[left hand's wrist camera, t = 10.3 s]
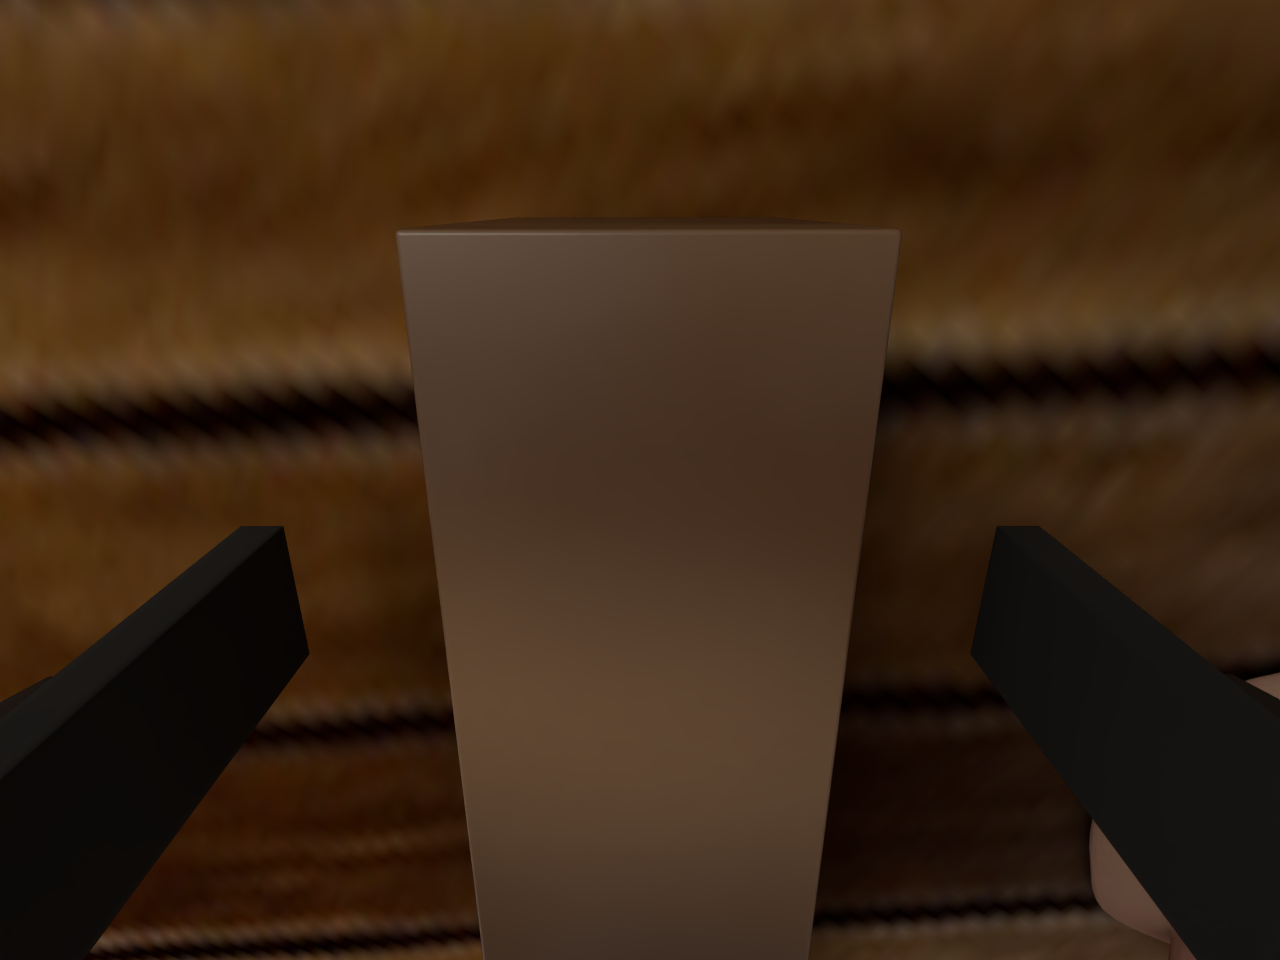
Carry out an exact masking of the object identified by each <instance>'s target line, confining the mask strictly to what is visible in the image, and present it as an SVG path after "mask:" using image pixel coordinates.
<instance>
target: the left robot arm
mask: <svg viewBox="0 0 1280 960" xmlns="http://www.w3.org/2000/svg"><path fill="white" fill-rule="evenodd" d="M308 655H309V649H308V644H307V639H306V634H305V630H304V625H303V620H302V615H301V610H300V605H299V600H298V596H297V591H296V586H295V581H294V576H293V571H292V566H291V562H290V557H289V552H288V547H287V542H286V537H285V532H284V528H283V526H241V527H239V528H238V529H237V530H236V531H234V532H233V533H232V534H231V535H229V536H228V537H227V538H226V539H224V540H223V541H222V542H221V543H219V544H218V545H217V546H216V547H214V548H213V549H212V550H211V551H209V552H208V553H207V554H206V555H204V556H203V557H202V558H201V559H199V560H198V561H197V562H196V563H194V564H193V565H192V566H191V567H189V568H188V569H187V570H186V571H184V572H183V573H182V574H181V575H180V576H178V577H177V578H176V579H175V580H173V581H172V582H171V583H170V584H168V585H167V586H166V587H165V588H163V589H162V590H161V591H160V592H158V593H157V594H156V595H155V596H153V597H152V598H151V599H150V600H148V601H147V602H146V603H145V604H143V605H142V606H141V607H140V608H138V609H137V610H136V611H135V612H133V613H132V614H131V615H130V616H128V617H127V618H126V619H125V620H123V621H122V622H121V623H120V624H118V625H117V626H116V627H115V628H113V629H112V630H111V631H110V632H108V633H107V634H106V635H105V636H103V637H102V638H101V639H100V640H98V641H97V642H96V643H95V644H93V645H92V646H91V647H90V648H88V649H87V650H86V651H85V652H83V653H82V654H81V655H80V656H78V657H77V658H76V659H75V660H73V661H72V662H71V663H70V664H68V665H67V666H66V667H65V668H63V669H62V670H61V671H60V672H58V673H57V674H56V675H55V676H54V677H47V678H45V679H44V680H42V681H40V682H38V683H36V684H34V685H32V686H30V687H28V688H26V689H25V690H23V691H21V692H19V693H17V694H15V695H13V696H11V697H9V698H8V699H6V700H4V701H2V702H1V703H0V960H84V959H85V957H86V956H87V954H88V953H89V952H90V950H91V949H92V948H93V946H94V945H95V944H96V942H97V941H98V940H99V938H100V937H101V935H102V934H103V933H104V931H105V930H106V929H107V927H108V926H109V925H110V923H111V922H112V921H113V919H114V918H115V917H116V915H117V914H118V912H119V911H120V910H121V908H122V907H123V906H124V904H125V903H126V902H127V900H128V899H129V898H130V896H131V895H132V894H133V892H134V891H135V889H136V888H137V887H138V885H139V884H140V883H141V881H142V880H143V879H144V877H145V876H146V875H147V873H148V872H149V870H150V869H151V868H152V866H153V865H154V864H155V862H156V861H157V860H158V858H159V857H160V856H161V854H162V853H163V852H164V850H165V849H166V847H167V846H168V845H169V843H170V842H171V841H172V839H173V838H174V837H175V835H176V834H177V833H178V831H179V830H180V829H181V827H182V826H183V824H184V823H185V822H186V820H187V819H188V818H189V816H190V815H191V814H192V812H193V811H194V810H195V808H196V807H197V806H198V804H199V803H200V801H201V800H202V799H203V797H204V796H205V795H206V793H207V792H208V791H209V789H210V788H211V787H212V785H213V784H214V782H215V781H216V780H217V778H218V777H219V776H220V774H221V773H222V772H223V770H224V769H225V768H226V766H227V765H228V764H229V762H230V761H231V759H232V758H233V757H234V755H235V754H236V753H237V751H238V750H239V749H240V747H241V746H242V745H243V743H244V742H245V741H246V739H247V738H248V736H249V735H250V734H251V732H252V731H253V730H254V728H255V727H256V726H257V724H258V723H259V722H260V720H261V719H262V717H263V716H264V715H265V713H266V712H267V711H268V709H269V708H270V707H271V705H272V704H273V703H274V701H275V700H276V699H277V697H278V696H279V694H280V693H281V692H282V690H283V689H284V688H285V686H286V685H287V684H288V682H289V681H290V680H291V678H292V677H293V676H294V674H295V673H296V671H297V670H298V669H299V667H300V666H301V665H302V663H303V662H304V661H305V659H306V658H307V657H308ZM971 655H972V657H973V658H974V659H975V661H976V662H977V663H978V665H979V666H980V667H981V669H982V670H983V671H984V673H985V674H986V676H987V677H988V678H989V680H990V681H991V682H992V684H993V685H994V686H995V688H996V689H997V690H998V692H999V693H1000V694H1001V696H1002V697H1003V699H1004V700H1005V701H1006V703H1007V704H1008V705H1009V707H1010V708H1011V709H1012V711H1013V712H1014V713H1015V715H1016V716H1017V717H1018V719H1019V720H1020V722H1021V723H1022V724H1023V726H1024V727H1025V728H1026V730H1027V731H1028V732H1029V734H1030V735H1031V736H1032V738H1033V739H1034V741H1035V742H1036V743H1037V745H1038V746H1039V747H1040V749H1041V750H1042V751H1043V753H1044V754H1045V755H1046V757H1047V758H1048V759H1049V761H1050V762H1051V764H1052V765H1053V766H1054V768H1055V769H1056V770H1057V772H1058V773H1059V774H1060V776H1061V777H1062V778H1063V780H1064V781H1065V782H1066V784H1067V785H1068V787H1069V788H1070V789H1071V791H1072V792H1073V793H1074V795H1075V796H1076V797H1077V799H1078V800H1079V801H1080V803H1081V804H1082V805H1083V807H1084V808H1085V810H1086V811H1087V812H1088V814H1089V815H1090V816H1091V818H1092V819H1093V820H1094V822H1095V823H1096V824H1097V826H1098V827H1099V829H1100V830H1101V831H1102V833H1103V834H1104V835H1105V837H1106V838H1107V839H1108V841H1109V842H1110V843H1111V845H1112V846H1113V847H1114V849H1115V850H1116V852H1117V853H1118V854H1119V856H1120V857H1121V858H1122V860H1123V861H1124V862H1125V864H1126V865H1127V866H1128V868H1129V869H1130V870H1131V872H1132V873H1133V875H1134V876H1135V877H1136V879H1137V880H1138V881H1139V883H1140V884H1141V885H1142V887H1143V888H1144V889H1145V891H1146V892H1147V893H1148V895H1149V896H1150V898H1151V899H1152V900H1153V902H1154V903H1155V904H1156V906H1157V907H1158V908H1159V910H1160V911H1161V912H1162V914H1163V915H1164V917H1165V918H1166V919H1167V921H1168V922H1169V923H1170V925H1171V926H1172V927H1173V929H1174V930H1175V931H1176V933H1177V934H1178V935H1179V937H1180V938H1181V940H1182V941H1183V942H1184V944H1185V945H1186V946H1187V948H1188V949H1189V950H1190V952H1191V953H1192V954H1193V956H1194V957H1195V958H1196V960H1280V700H1279V699H1278V698H1276V697H1274V696H1273V695H1271V694H1269V693H1267V692H1265V691H1263V690H1261V689H1259V688H1257V687H1255V686H1254V685H1252V684H1250V683H1248V682H1246V681H1244V680H1242V679H1240V678H1238V677H1236V676H1234V675H1233V674H1223V673H1222V672H1220V671H1219V670H1218V669H1217V668H1215V667H1214V666H1213V665H1212V664H1210V663H1209V662H1208V661H1207V660H1205V659H1204V658H1203V657H1202V656H1200V655H1199V654H1198V653H1197V652H1195V651H1194V650H1193V649H1192V648H1190V647H1189V646H1188V645H1187V644H1185V643H1184V642H1183V641H1182V640H1180V639H1179V638H1178V637H1177V636H1175V635H1174V634H1173V633H1172V632H1170V631H1169V630H1168V629H1167V628H1165V627H1164V626H1163V625H1162V624H1160V623H1159V622H1158V621H1157V620H1155V619H1154V618H1153V617H1152V616H1150V615H1149V614H1148V613H1147V612H1145V611H1144V610H1143V609H1142V608H1140V607H1139V606H1138V605H1137V604H1135V603H1134V602H1133V601H1132V600H1130V599H1129V598H1128V597H1127V596H1125V595H1124V594H1123V593H1122V592H1120V591H1119V590H1118V589H1117V588H1115V587H1114V586H1113V585H1112V584H1110V583H1109V582H1108V581H1107V580H1106V579H1104V578H1103V577H1102V576H1101V575H1099V574H1098V573H1097V572H1096V571H1094V570H1093V569H1092V568H1091V567H1089V566H1088V565H1087V564H1086V563H1084V562H1083V561H1082V560H1081V559H1079V558H1078V557H1077V556H1076V555H1074V554H1073V553H1072V552H1071V551H1069V550H1068V549H1067V548H1066V547H1064V546H1063V545H1062V544H1061V543H1059V542H1058V541H1057V540H1056V539H1054V538H1053V537H1052V536H1051V535H1049V534H1048V533H1047V532H1046V531H1044V530H1043V529H1042V528H1041V527H1039V526H997V528H996V532H995V537H994V542H993V547H992V552H991V557H990V562H989V566H988V571H987V576H986V581H985V586H984V591H983V596H982V600H981V605H980V610H979V615H978V620H977V625H976V630H975V634H974V639H973V644H972V649H971Z"/></svg>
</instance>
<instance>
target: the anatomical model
mask: <svg viewBox="0 0 1280 960" xmlns="http://www.w3.org/2000/svg"><path fill="white" fill-rule="evenodd" d="M1245 681H1246V682H1248V683H1250V684H1252V685H1254V686H1255V687H1257V688H1259V689H1261V690H1263V691H1265V692H1267V693H1269V694H1271V695H1273V696H1274V697H1276V698H1278V699H1279V700H1280V673H1275V674H1271V675H1266V676H1261V677H1257V678H1253V679H1249V680H1245ZM1089 853H1090V870H1091V884H1092V889H1093V892H1094V895H1095V898H1096V900H1097V902H1098V904H1099V905H1100V906H1101V908H1102V909H1103V910H1104V911H1105V912H1106V913H1108V914H1109V915H1110V916H1111V917H1112V918H1114V919H1115V920H1117V921H1119V922H1120V923H1122V924H1124V925H1126V926H1128V927H1130V928H1132V929H1134V930H1137V931H1139V932H1141V933H1143V934H1146V935H1148V936H1151V937H1153V938H1156V939H1158V940H1161V941H1163V942H1166V943H1168V944H1170V951H1169V960H1196V958H1195V957H1194V956H1193V954H1192V953H1191V952H1190V950H1189V949H1188V948H1187V946H1186V945H1185V944H1184V942H1183V941H1182V940H1181V938H1180V937H1179V935H1178V934H1177V933H1176V931H1175V930H1174V929H1173V927H1172V926H1171V925H1170V923H1169V922H1168V921H1167V919H1166V918H1165V917H1164V915H1163V914H1162V912H1161V911H1160V910H1159V908H1158V907H1157V906H1156V904H1155V903H1154V902H1153V900H1152V899H1151V898H1150V896H1149V895H1148V893H1147V892H1146V891H1145V889H1144V888H1143V887H1142V885H1141V884H1140V883H1139V881H1138V880H1137V879H1136V877H1135V876H1134V875H1133V873H1132V872H1131V870H1130V869H1129V868H1128V866H1127V865H1126V864H1125V862H1124V861H1123V860H1122V858H1121V857H1120V856H1119V854H1118V853H1117V852H1116V850H1115V849H1114V847H1113V846H1112V845H1111V843H1110V842H1109V841H1108V839H1107V838H1106V837H1105V835H1104V834H1103V833H1102V831H1101V830H1100V829H1099V827H1098V826H1097V824H1096V823H1095V822H1094V820H1093V819H1092V824H1091V830H1090V840H1089Z"/></svg>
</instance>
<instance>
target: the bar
mask: <svg viewBox="0 0 1280 960" xmlns="http://www.w3.org/2000/svg"><path fill="white" fill-rule="evenodd" d="M901 236H902V234H901V230H899V229H897V228H888V227H876V226H864V225H853V224H841V223H829V222H818V221H806V220H794V219H783V218H508V219H498V220H487V221H476V222H466V223H455V224H445V225H434V226H423V227H413V228H402V229H399V230H397V231H396V235H395V237H396V245H397V253H398V261H399V269H400V278H401V286H402V294H403V302H404V311H405V319H406V327H407V335H408V343H409V352H410V360H411V368H412V376H413V385H414V393H415V401H416V409H417V417H418V426H419V434H420V442H421V450H422V459H423V467H424V475H425V483H426V491H427V500H428V508H429V516H430V524H431V533H432V541H433V549H434V557H435V565H436V574H437V582H438V590H439V598H440V607H441V615H442V623H443V631H444V639H445V648H446V656H447V664H448V672H449V681H450V689H451V697H452V705H453V713H454V722H455V730H456V738H457V746H458V755H459V763H460V771H461V779H462V787H463V796H464V804H465V812H466V820H467V829H468V837H469V845H470V853H471V861H472V870H473V878H474V886H475V894H476V903H477V911H478V919H479V927H480V935H481V944H482V952H483V960H808V959H809V951H810V943H811V935H812V927H813V920H814V912H815V904H816V896H817V889H818V881H819V873H820V865H821V858H822V850H823V842H824V834H825V826H826V819H827V811H828V803H829V795H830V788H831V780H832V772H833V764H834V756H835V749H836V741H837V733H838V725H839V718H840V710H841V702H842V694H843V687H844V679H845V671H846V663H847V655H848V648H849V640H850V632H851V624H852V617H853V609H854V601H855V593H856V586H857V578H858V570H859V562H860V554H861V547H862V539H863V531H864V523H865V516H866V508H867V500H868V492H869V484H870V477H871V469H872V461H873V453H874V446H875V438H876V430H877V422H878V415H879V407H880V399H881V391H882V383H883V376H884V368H885V360H886V352H887V345H888V337H889V329H890V321H891V314H892V306H893V298H894V290H895V282H896V275H897V267H898V259H899V251H900V244H901Z"/></svg>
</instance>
